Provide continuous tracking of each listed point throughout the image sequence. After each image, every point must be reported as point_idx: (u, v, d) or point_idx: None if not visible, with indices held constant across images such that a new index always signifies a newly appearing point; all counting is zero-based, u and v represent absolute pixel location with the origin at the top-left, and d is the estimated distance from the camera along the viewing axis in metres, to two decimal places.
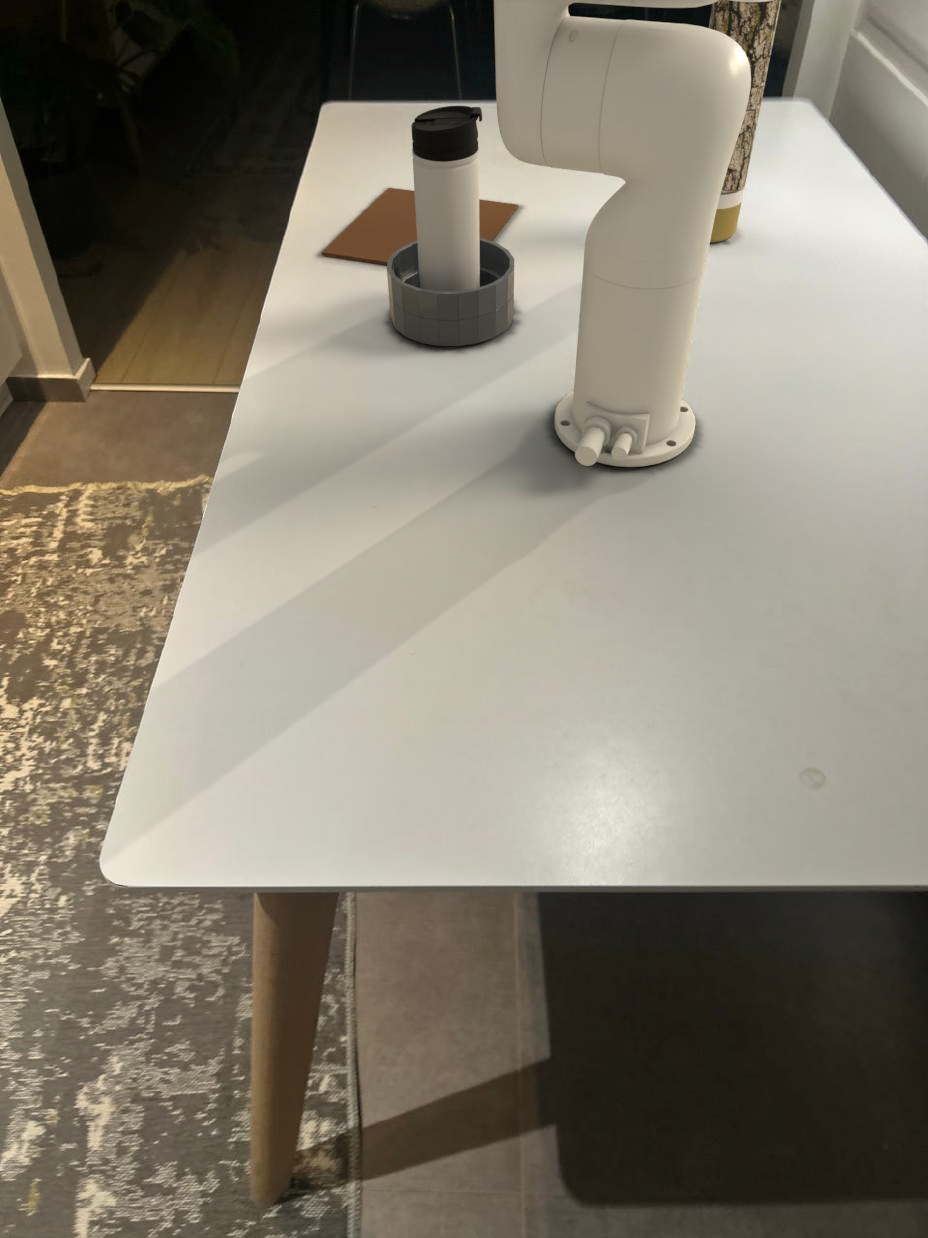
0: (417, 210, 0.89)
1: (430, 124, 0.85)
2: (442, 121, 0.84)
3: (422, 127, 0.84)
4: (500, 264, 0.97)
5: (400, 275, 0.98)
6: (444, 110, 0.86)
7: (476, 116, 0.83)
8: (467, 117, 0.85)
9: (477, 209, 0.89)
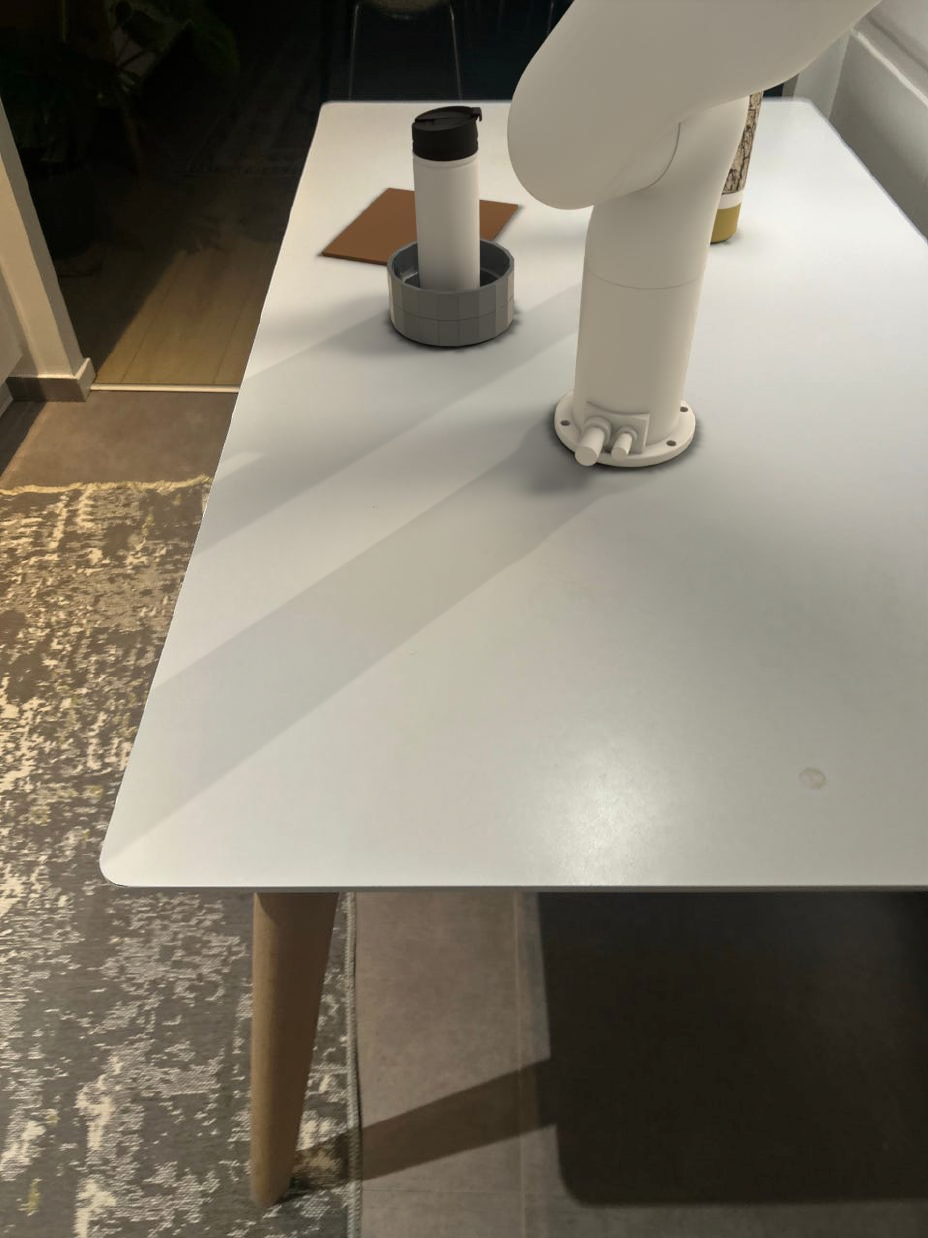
0: (417, 210, 0.89)
1: (430, 124, 0.85)
2: (442, 121, 0.84)
3: (422, 127, 0.84)
4: (500, 264, 0.97)
5: (400, 275, 0.98)
6: (444, 110, 0.86)
7: (476, 116, 0.83)
8: (467, 117, 0.85)
9: (477, 209, 0.89)
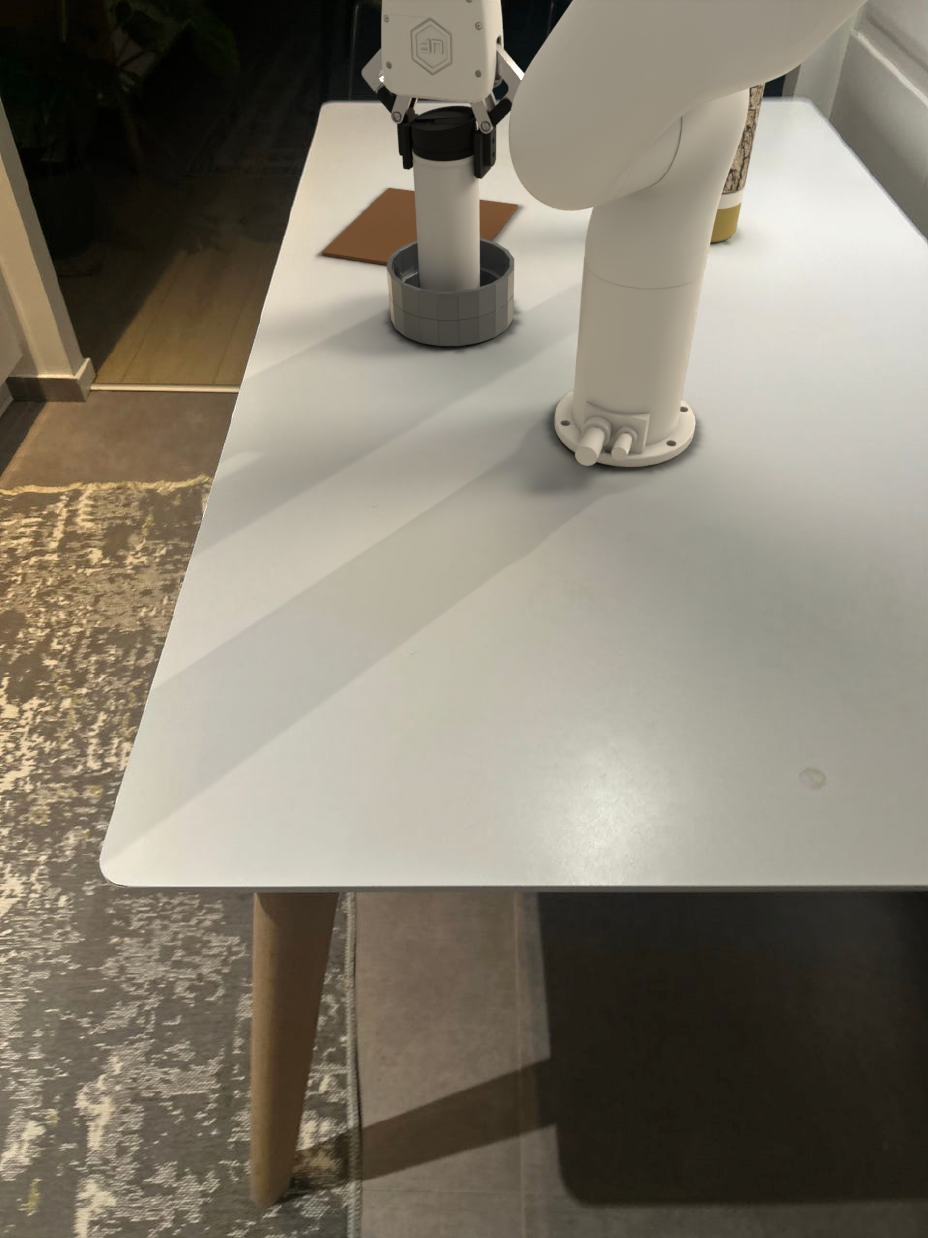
0: (417, 210, 0.89)
1: (430, 124, 0.85)
2: (442, 121, 0.84)
3: (422, 127, 0.84)
4: (500, 264, 0.97)
5: (400, 275, 0.98)
6: (445, 110, 0.86)
7: None
8: (467, 117, 0.85)
9: (477, 209, 0.89)
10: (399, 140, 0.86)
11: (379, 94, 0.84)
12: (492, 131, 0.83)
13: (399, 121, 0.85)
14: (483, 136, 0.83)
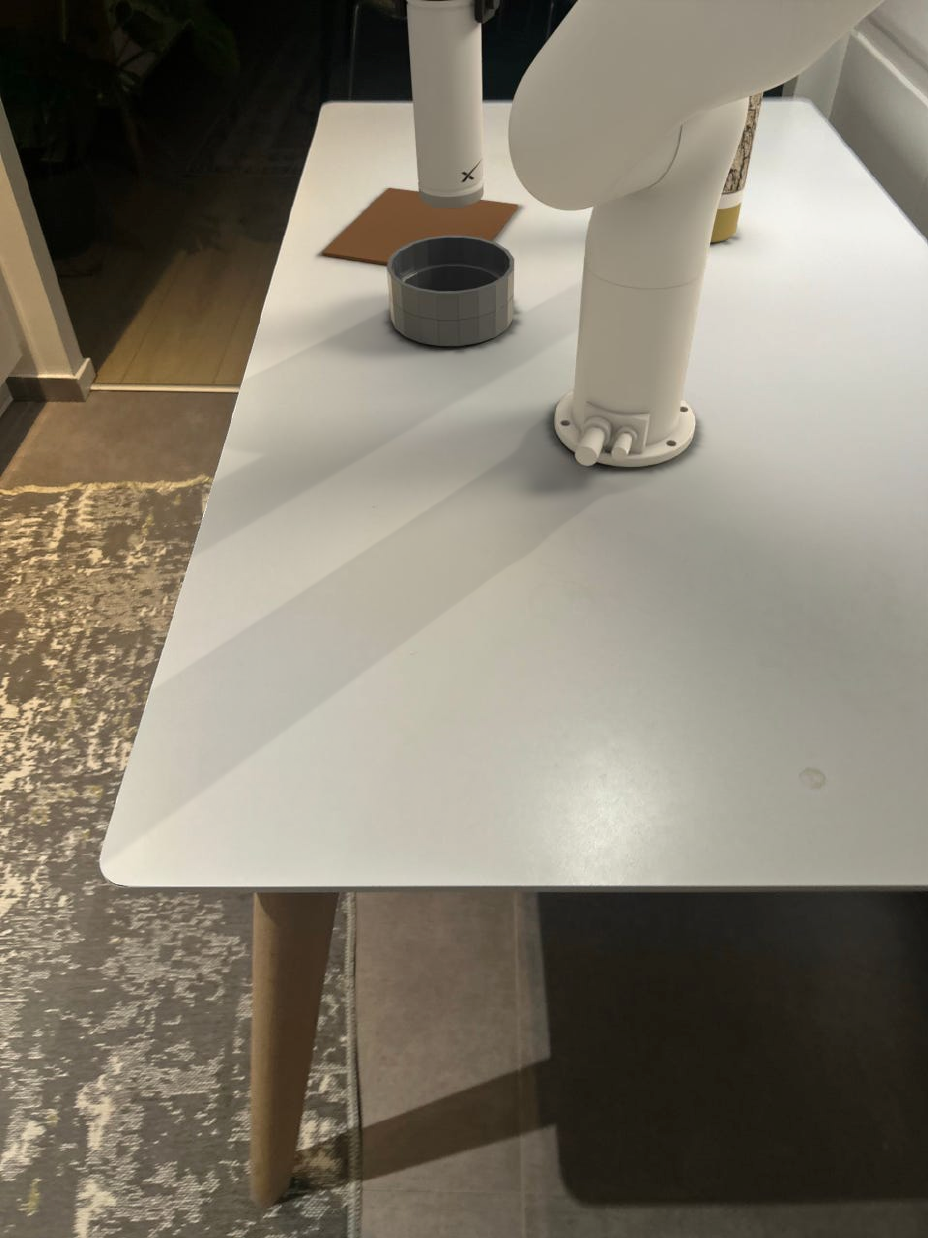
0: (412, 66, 0.80)
1: None
2: None
3: None
4: (500, 264, 0.97)
5: (400, 275, 0.98)
6: None
7: None
8: None
9: (479, 64, 0.80)
10: None
11: None
12: None
13: None
14: None
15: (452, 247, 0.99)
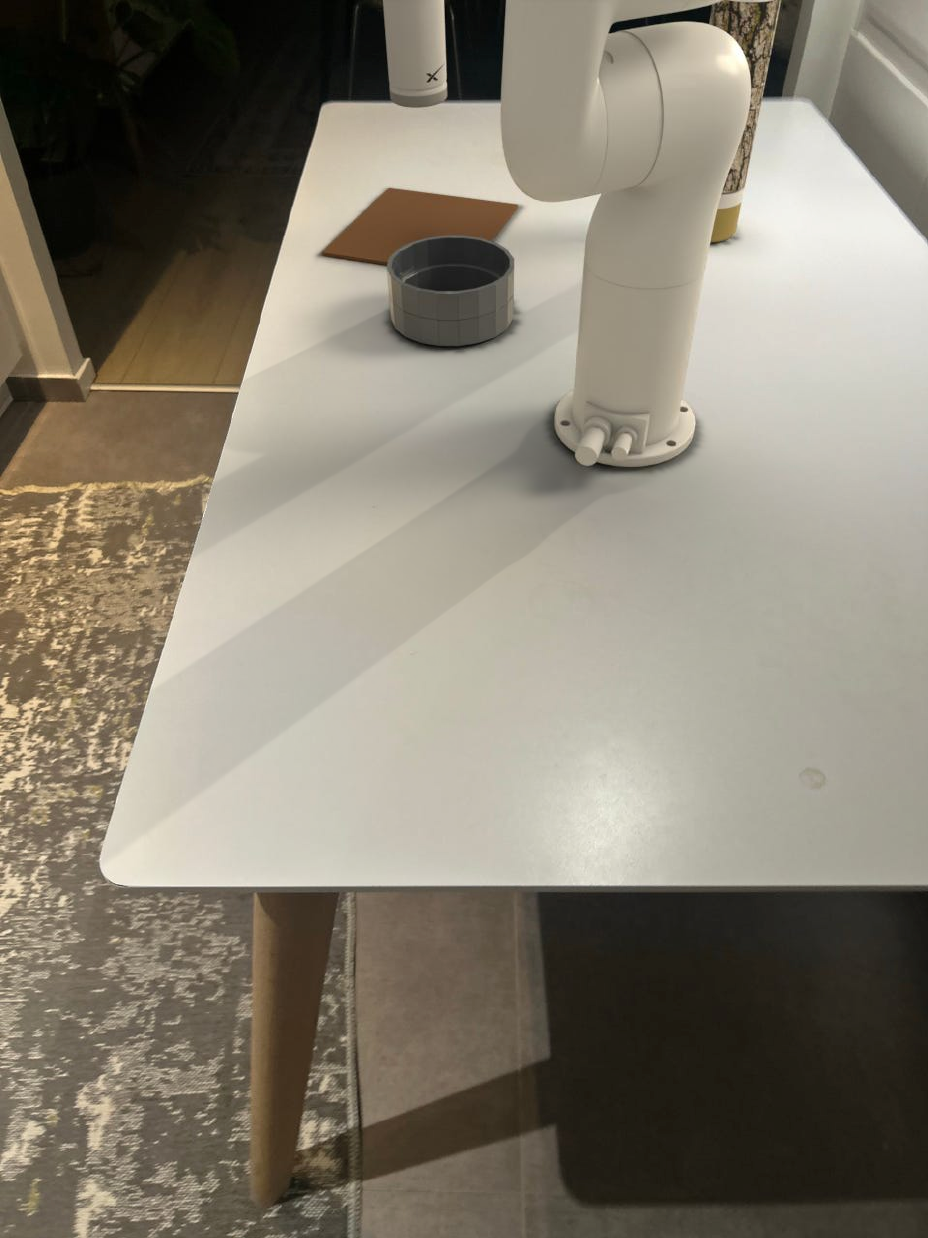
0: None
1: None
2: None
3: None
4: (500, 264, 0.97)
5: (400, 275, 0.98)
6: None
7: None
8: None
9: None
10: None
11: None
12: None
13: None
14: None
15: (452, 247, 0.99)
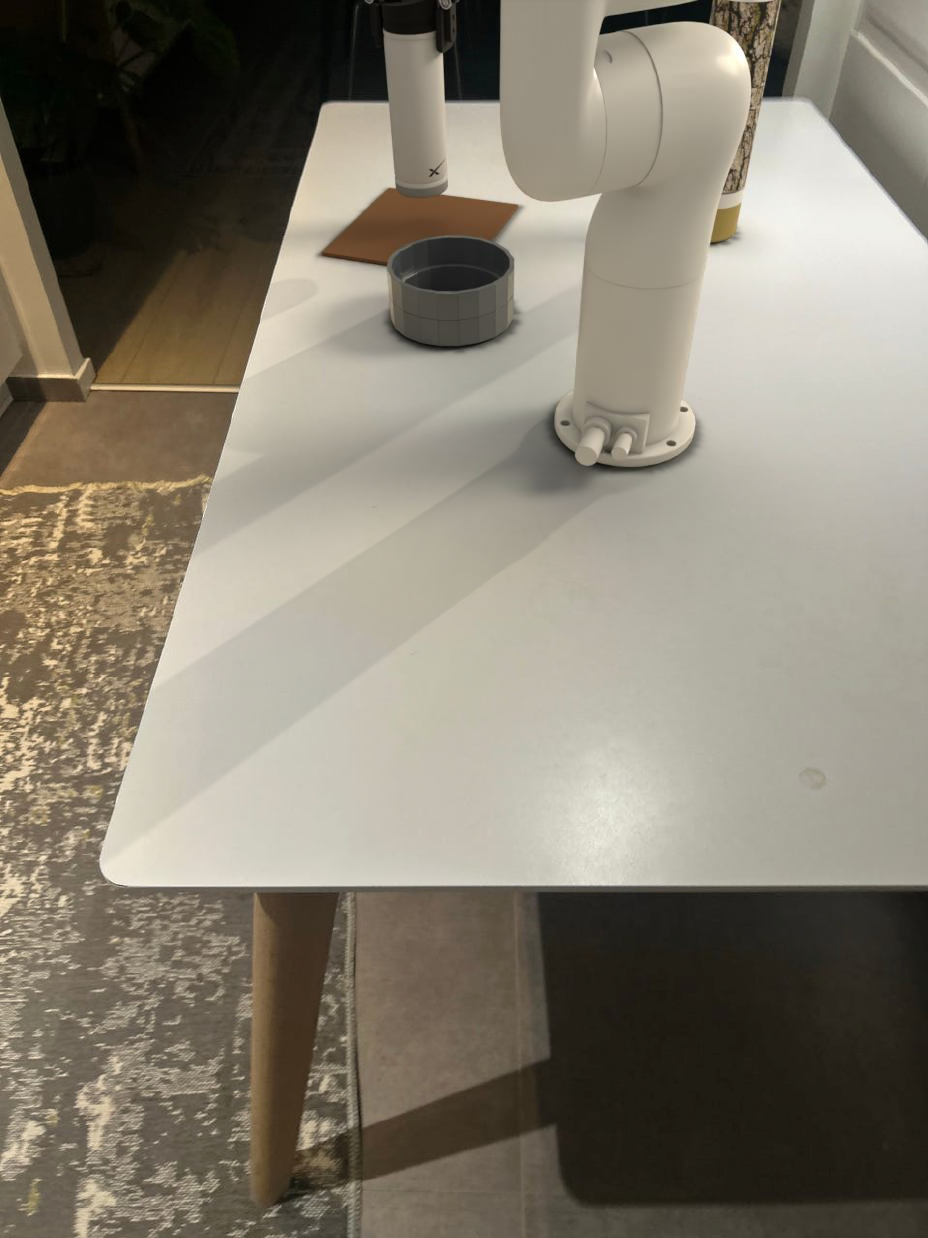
0: (388, 84, 1.01)
1: (398, 3, 0.96)
2: (409, 0, 0.96)
3: (390, 4, 0.95)
4: (500, 264, 0.97)
5: (400, 275, 0.98)
6: None
7: None
8: None
9: (442, 83, 1.01)
10: (371, 20, 0.98)
11: None
12: (452, 8, 0.95)
13: (371, 1, 0.96)
14: (444, 12, 0.95)
15: (452, 247, 0.99)
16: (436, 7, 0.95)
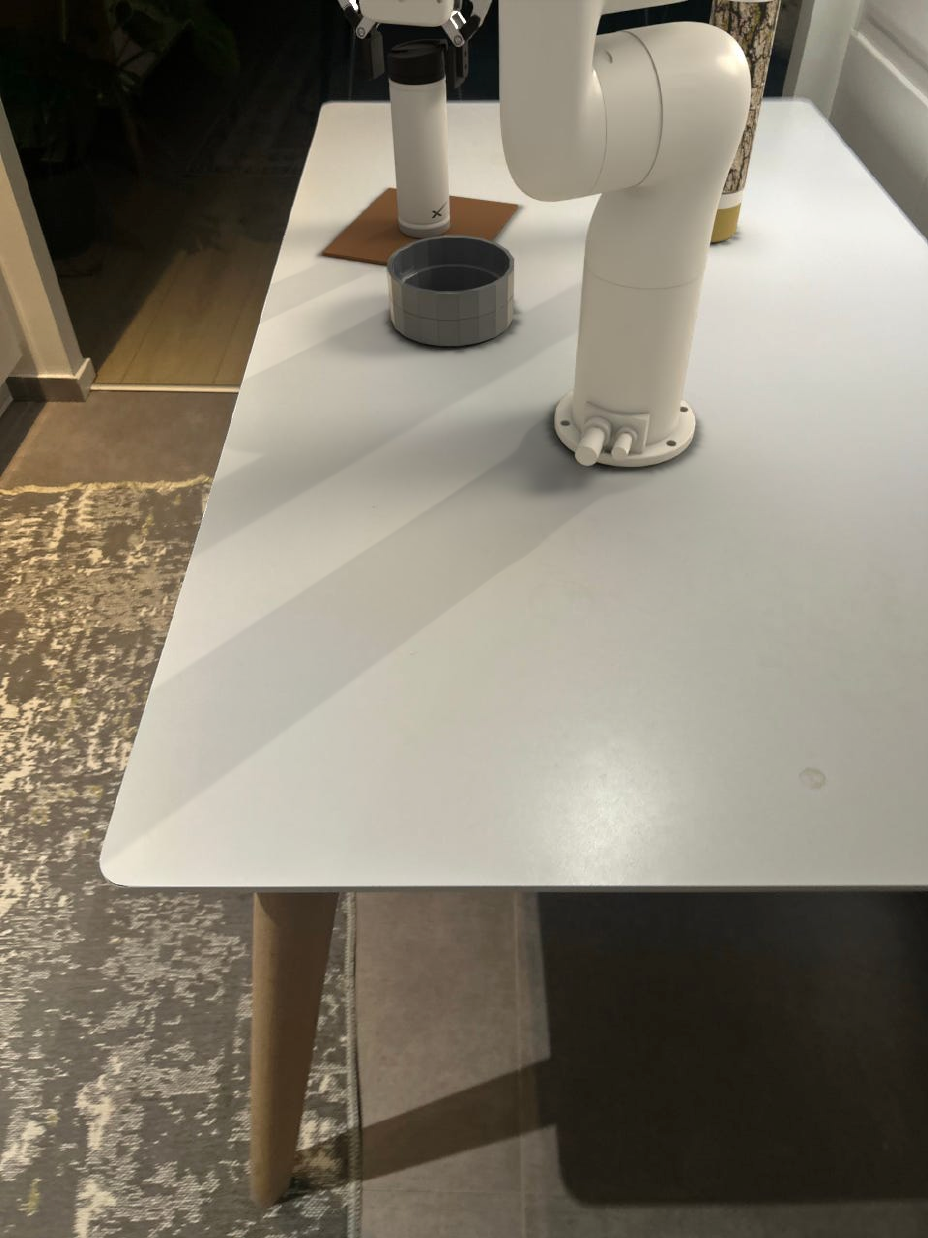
0: (393, 131, 1.04)
1: (403, 54, 0.99)
2: (414, 51, 0.99)
3: (396, 56, 0.98)
4: (500, 264, 0.97)
5: (400, 275, 0.98)
6: (416, 43, 1.01)
7: (442, 46, 0.98)
8: (435, 48, 1.00)
9: (445, 130, 1.04)
10: (364, 54, 1.01)
11: (346, 12, 0.98)
12: (464, 45, 0.97)
13: (363, 36, 0.99)
14: (456, 49, 0.97)
15: (452, 247, 0.99)
16: (440, 59, 0.98)
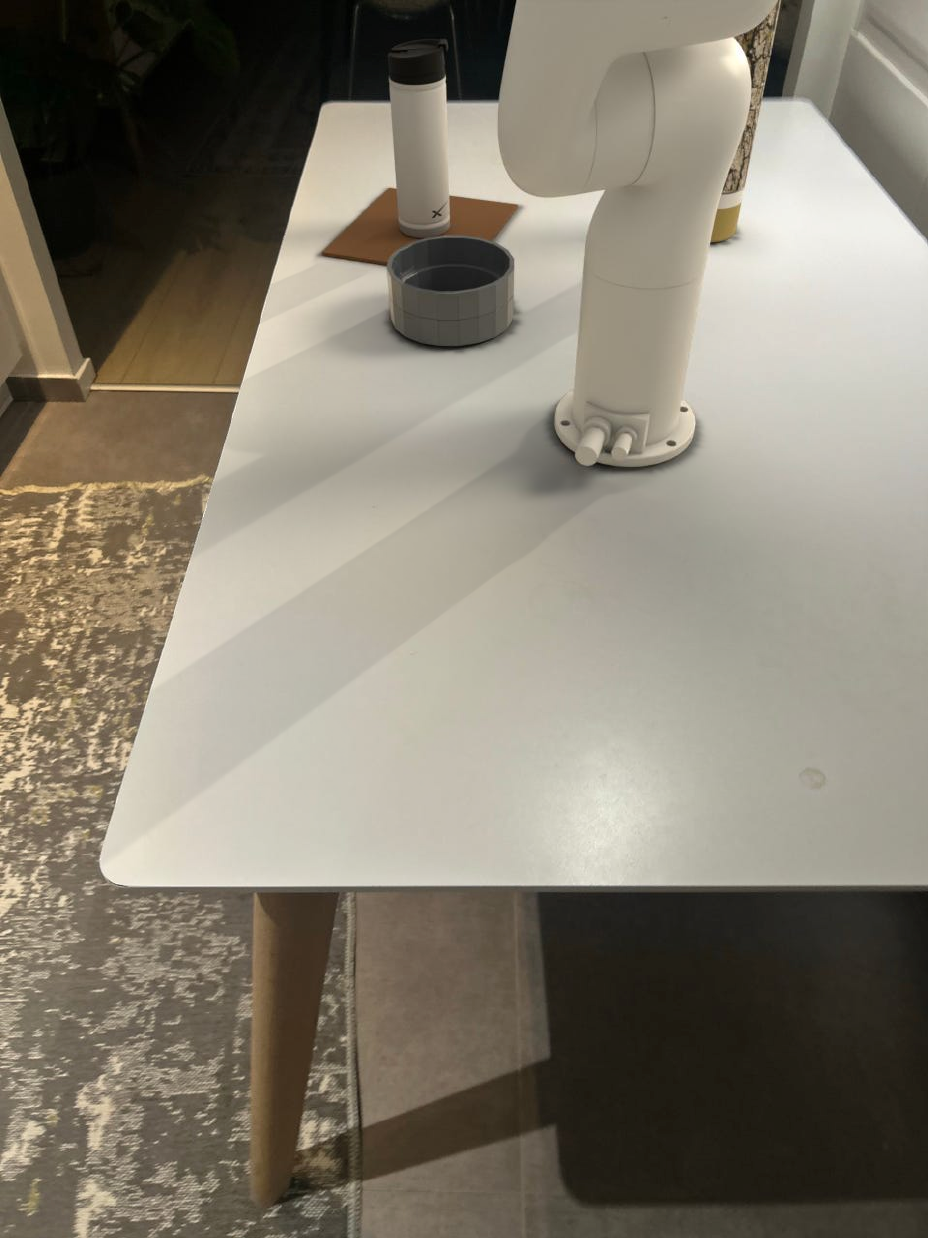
0: (394, 130, 1.04)
1: (404, 54, 0.99)
2: (414, 51, 0.99)
3: (397, 55, 0.98)
4: (500, 264, 0.97)
5: (400, 275, 0.98)
6: (416, 43, 1.01)
7: (442, 46, 0.98)
8: (435, 48, 0.99)
9: (445, 130, 1.04)
10: None
11: None
12: None
13: None
14: None
15: (452, 247, 0.99)
16: (441, 59, 0.98)
